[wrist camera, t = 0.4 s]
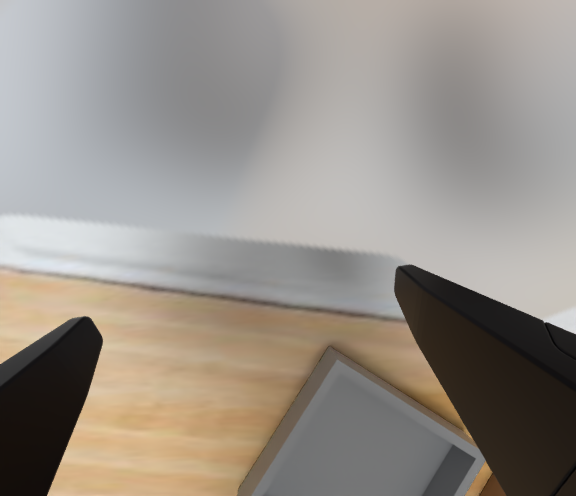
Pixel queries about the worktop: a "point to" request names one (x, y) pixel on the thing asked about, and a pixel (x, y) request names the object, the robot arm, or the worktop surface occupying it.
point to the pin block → (492, 488)
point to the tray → (361, 442)
